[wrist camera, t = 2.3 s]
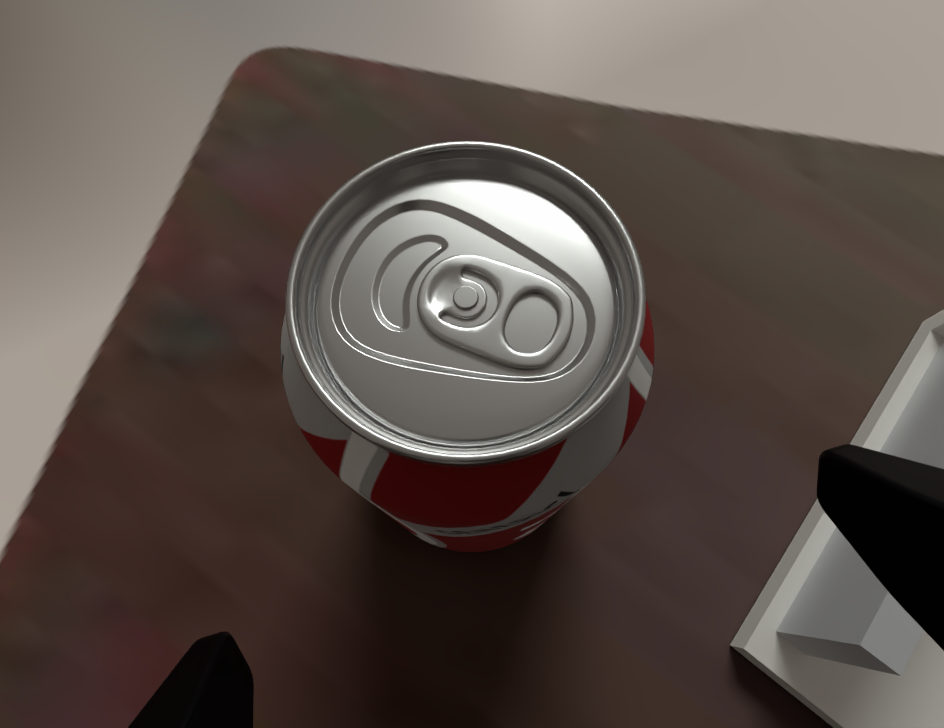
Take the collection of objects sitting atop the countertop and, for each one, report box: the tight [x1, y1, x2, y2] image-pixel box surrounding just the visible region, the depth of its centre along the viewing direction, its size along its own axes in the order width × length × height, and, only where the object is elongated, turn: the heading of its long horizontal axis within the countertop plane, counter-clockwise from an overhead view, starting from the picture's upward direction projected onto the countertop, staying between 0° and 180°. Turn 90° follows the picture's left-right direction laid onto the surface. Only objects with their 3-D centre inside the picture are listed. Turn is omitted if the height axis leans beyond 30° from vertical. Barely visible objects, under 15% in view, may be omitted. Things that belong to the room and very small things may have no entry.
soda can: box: [281, 141, 654, 552], centre depth 14 cm, size 7×7×12 cm
